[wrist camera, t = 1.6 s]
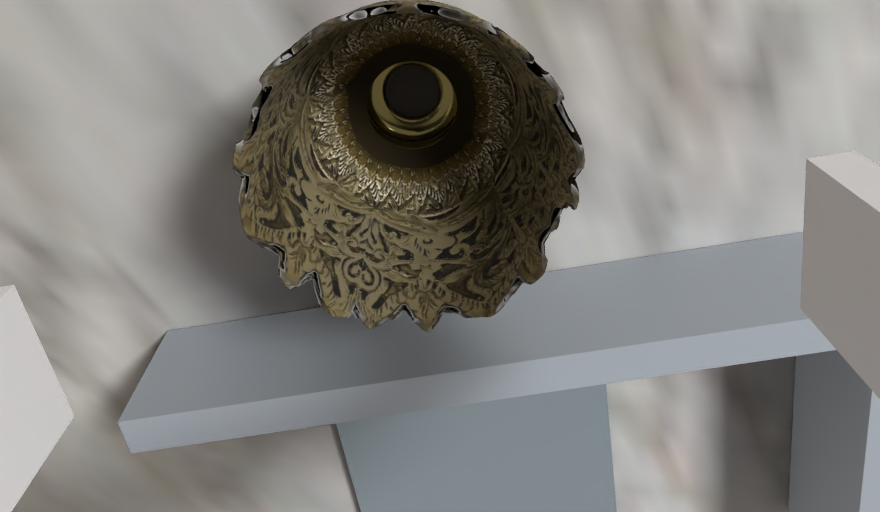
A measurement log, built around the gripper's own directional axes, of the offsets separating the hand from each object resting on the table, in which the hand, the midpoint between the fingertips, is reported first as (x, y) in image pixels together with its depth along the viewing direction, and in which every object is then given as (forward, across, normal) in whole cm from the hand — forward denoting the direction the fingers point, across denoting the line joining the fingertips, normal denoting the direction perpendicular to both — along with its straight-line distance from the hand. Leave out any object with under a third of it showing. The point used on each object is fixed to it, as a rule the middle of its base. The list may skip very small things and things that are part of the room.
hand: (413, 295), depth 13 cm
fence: (+12, +1, -13) cm, 18 cm away
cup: (+12, 0, 0) cm, 12 cm away
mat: (+12, 0, -14) cm, 19 cm away
